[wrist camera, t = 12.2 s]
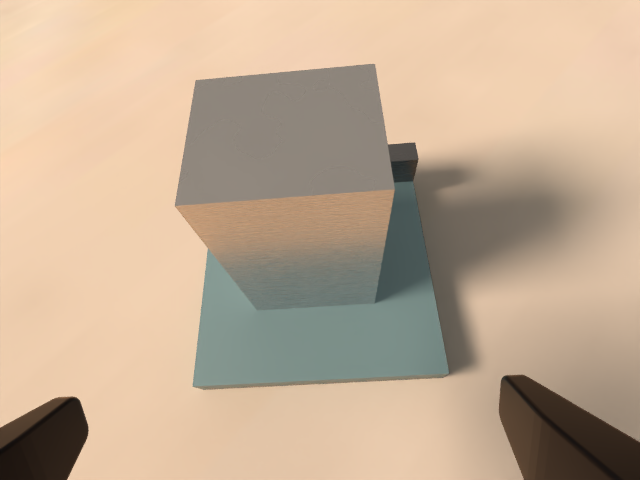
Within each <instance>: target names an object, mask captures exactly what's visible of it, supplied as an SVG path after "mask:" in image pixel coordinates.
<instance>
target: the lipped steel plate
mask: <svg viewBox="0 0 640 480" xmlns="http://www.w3.org/2000/svg"><path fill="white" fill-rule="evenodd" d="M388 150H389V156H390V162H391V168H392V175H393V181H394V187H395V191H394V197H393V202H392V208H391V214H390V219H389V225H388V230H387V236H386V242H385V247H384V253H383V258H382V264H381V270H380V275H379V281H378V286H377V292H376V298H375V303H374V304H357V305H341V306H324V307H308V308H292V309H275V310H259V311H257V310H256V308H255V307H254V306H253V305H252V303H251V302H250V301H249V300H248V298H247V297H246V296H245V295H244V293H243V292H242V291H241V289H240V288H239V287H238V286H237V284H236V283H235V282H234V281H233V279H232V278H231V277H230V275H229V274H228V273H227V272H226V270H225V269H224V268H223V267H222V265H221V264H220V263H219V261H218V260H217V259H216V258H215V256H214V255H213V254H212V253H211V251H210V250H209V249H208V253H207V262H206V271H205V280H204V289H203V298H202V307H201V316H200V325H199V334H198V343H197V352H196V361H195V370H194V379H193V387H196V388H200V389H203V390H206V389H226V388H246V387H266V386H286V385H307V384H327V383H347V382H367V381H387V380H407V379H427V378H443V377H444V376H446V375H448V374H449V369H448V364H447V359H446V353H445V348H444V343H443V337H442V332H441V327H440V322H439V316H438V311H437V306H436V300H435V295H434V290H433V284H432V279H431V274H430V268H429V263H428V258H427V253H426V247H425V242H424V237H423V231H422V226H421V221H420V215H419V210H418V205H417V200H416V194H415V189H414V184H413V180H414V176H415V172H416V167H417V163H418V155H417V150H416V145H415V143H403V144H390V145H388Z"/></svg>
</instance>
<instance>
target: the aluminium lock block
mask: <svg viewBox="0 0 640 480" xmlns="http://www.w3.org/2000/svg"><path fill="white" fill-rule="evenodd" d="M394 191H395V187H394V181H393V175H392V168H391V162H390V156H389V150H388V143H387V137H386V131H385V125H384V118H383V112H382V106H381V100H380V93H379V87H378V81H377V74H376V68H375V64H367V65H356V66H345V67H334V68H324V69H313V70H302V71H291V72H280V73H270V74H259V75H248V76H237V77H226V78H216V79H205V80H196V82H195V88H194V94H193V100H192V106H191V112H190V118H189V124H188V130H187V136H186V142H185V148H184V154H183V160H182V166H181V172H180V178H179V184H178V190H177V196H176V202H175V207H176V208H177V209H178V211H179V212H180V213H181V214H182V216H183V217H184V218H185V220H186V221H187V222H188V223H189V225H190V226H191V227H192V228H193V230H194V231H195V232H196V234H197V235H198V236H199V237H200V239H201V240H202V241H203V242H204V244H205V245H206V246H207V248H208V249H209V250H210V251H211V253H212V254H213V255H214V256H215V258H216V259H217V260H218V261H219V263H220V264H221V265H222V267H223V268H224V269H225V270H226V272H227V273H228V274H229V275H230V277H231V278H232V279H233V281H234V282H235V283H236V284H237V286H238V287H239V288H240V289H241V291H242V292H243V293H244V295H245V296H246V297H247V298H248V300H249V301H250V302H251V303H252V305H253V306H254V307H255V308H256V310H257V311H259V310H275V309H292V308H308V307H324V306H341V305H357V304H374V303H375V298H376V292H377V286H378V281H379V275H380V270H381V264H382V258H383V253H384V247H385V242H386V236H387V230H388V225H389V219H390V214H391V208H392V202H393V197H394Z"/></svg>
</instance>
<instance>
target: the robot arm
mask: <svg viewBox="0 0 640 480" xmlns="http://www.w3.org/2000/svg"><path fill="white" fill-rule="evenodd" d="M499 415H500V419H501V422H502V425H503V427H504V430H505V432H506V435H507V437H508V440H509V442H510V445H511V447H512V450H513V453H514V455H515V458H516V460H517V463H518V465H519V468H520V470H521V473H522V476H523V478H524V480H640V442H639V441H637V440H635V439H633V438H632V437H630V436H628V435H627V434H625V433H623V432H621V431H620V430H618V429H616V428H615V427H613V426H611V425H609V424H608V423H606V422H604V421H603V420H601V419H599V418H597V417H596V416H594V415H592V414H591V413H589V412H587V411H585V410H584V409H582V408H580V407H578V406H577V405H575V404H573V403H572V402H570V401H568V400H566V399H565V398H563V397H561V396H560V395H558V394H556V393H554V392H553V391H551V390H549V389H548V388H546V387H544V386H542V385H541V384H539V383H537V382H536V381H534V380H532V379H530V378H529V377H527V376H525V375H506V376H504V377H503V378H502V380H501V387H500V400H499ZM87 436H88V424H87V421H86V417H85V414H84V411H83V408H82V405H81V402H80V400H79V399H78V398H76V397H58V398H55V399H52V400H51V401H49V402H47V403H45V404H43V405H41V406H39V407H38V408H36V409H34V410H32V411H30V412H28V413H27V414H25V415H23V416H21V417H19V418H17V419H15V420H14V421H12V422H10V423H8V424H6V425H4V426H3V427H1V428H0V480H67V479H68V477H69V475H70V473H71V470H72V468H73V466H74V464H75V462H76V460H77V458H78V456H79V454H80V452H81V450H82V448H83V446H84V444H85V441H86V439H87Z"/></svg>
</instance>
